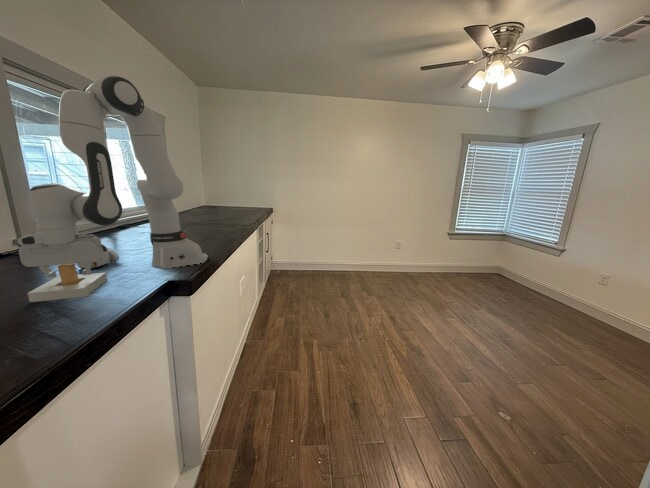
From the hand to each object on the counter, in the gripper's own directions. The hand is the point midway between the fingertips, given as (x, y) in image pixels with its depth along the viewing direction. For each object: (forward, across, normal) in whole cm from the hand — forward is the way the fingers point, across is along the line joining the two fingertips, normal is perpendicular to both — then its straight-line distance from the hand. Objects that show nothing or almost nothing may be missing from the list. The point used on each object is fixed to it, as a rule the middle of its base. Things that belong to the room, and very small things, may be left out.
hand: (70, 276), depth 86 cm
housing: (+5, 0, 0) cm, 5 cm away
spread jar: (+5, +3, -26) cm, 27 cm away
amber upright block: (+5, 0, 0) cm, 5 cm away
